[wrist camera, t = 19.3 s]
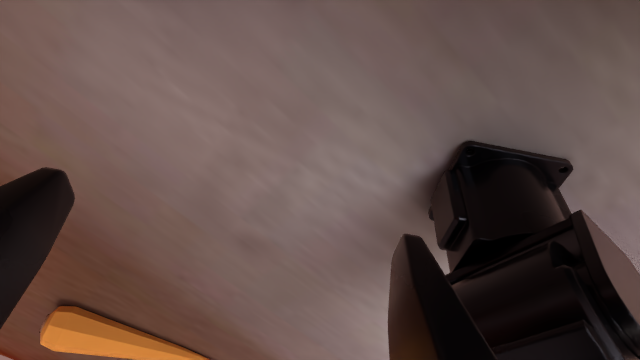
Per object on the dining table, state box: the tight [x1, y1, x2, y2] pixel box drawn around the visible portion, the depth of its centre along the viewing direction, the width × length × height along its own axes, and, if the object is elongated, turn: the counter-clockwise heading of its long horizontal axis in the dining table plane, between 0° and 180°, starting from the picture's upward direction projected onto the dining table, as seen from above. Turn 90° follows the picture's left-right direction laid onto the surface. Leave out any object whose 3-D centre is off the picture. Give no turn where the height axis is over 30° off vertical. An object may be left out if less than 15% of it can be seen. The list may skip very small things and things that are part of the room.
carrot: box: [39, 306, 210, 360], centre depth 43 cm, size 20×4×4 cm, turn 58°
